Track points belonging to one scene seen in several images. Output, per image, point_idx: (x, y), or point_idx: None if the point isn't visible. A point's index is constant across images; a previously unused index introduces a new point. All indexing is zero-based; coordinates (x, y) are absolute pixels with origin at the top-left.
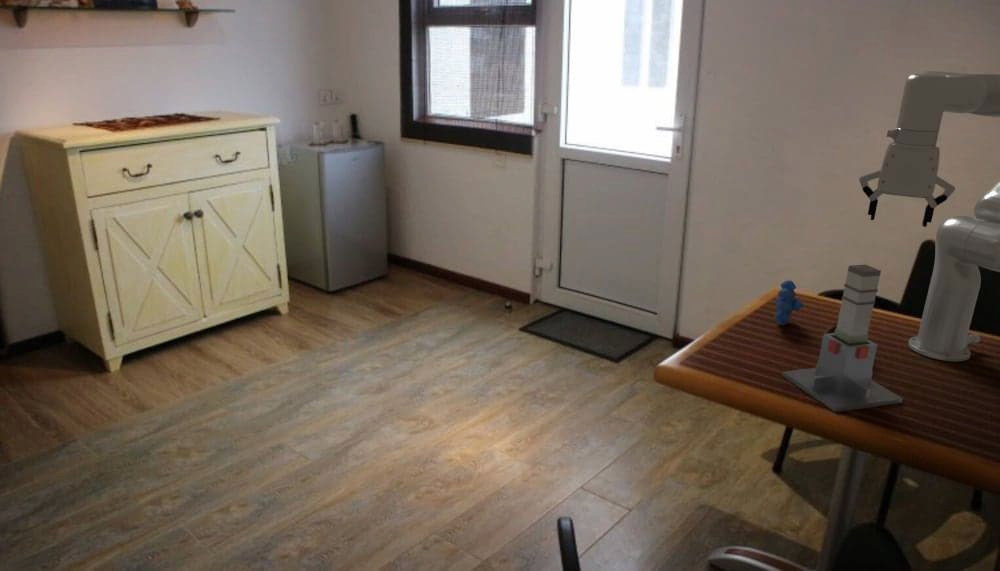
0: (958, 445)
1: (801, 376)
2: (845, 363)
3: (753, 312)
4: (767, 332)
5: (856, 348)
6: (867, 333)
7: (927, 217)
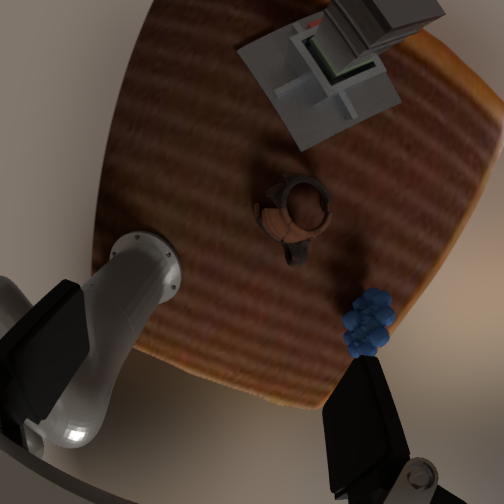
0: None
1: (377, 89)
2: None
3: None
4: (387, 267)
5: None
6: (314, 37)
7: (37, 310)
